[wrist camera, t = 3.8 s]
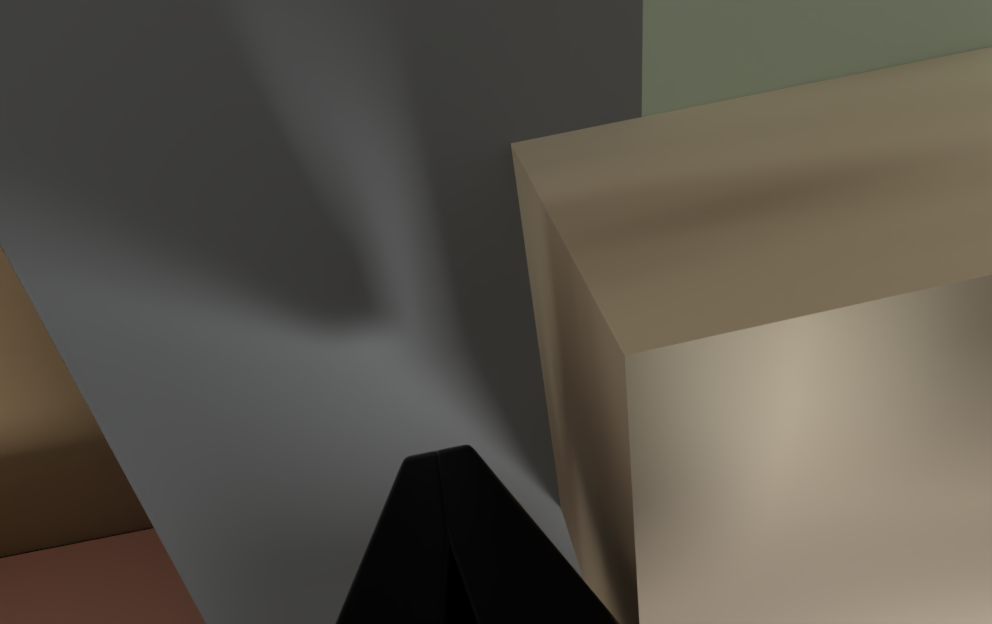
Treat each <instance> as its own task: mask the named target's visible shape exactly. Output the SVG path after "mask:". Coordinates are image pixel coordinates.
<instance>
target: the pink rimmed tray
mask: <svg viewBox="0 0 992 624" xmlns="http://www.w3.org/2000/svg"><path fill="white" fill-rule="evenodd" d="M988 47H992V0H0V245H1V247H2V249H3V251H4V253H5V254H6V256H7V258H8V260H9V262H10V264H11V265H12V267H13V269H14V271H15V273H16V275H17V277H18V278H19V280H20V282H21V284H22V286H23V288H24V289H25V291H26V293H27V295H28V297H29V299H30V300H31V302H32V304H33V306H34V308H35V310H36V311H37V313H38V315H39V317H40V319H41V321H42V323H43V324H44V326H45V328H46V330H47V332H48V334H49V335H50V337H51V339H52V341H53V343H54V345H55V346H56V348H57V350H58V352H59V354H60V356H61V358H62V359H63V361H64V363H65V365H66V367H67V369H68V370H69V372H70V374H71V376H72V378H73V380H74V381H75V383H76V385H77V387H78V389H79V391H80V392H81V394H82V396H83V398H84V400H85V402H86V404H87V405H88V407H89V409H90V411H91V413H92V415H93V416H94V418H95V420H96V422H97V424H98V426H99V427H100V429H101V431H102V433H103V435H104V437H105V439H106V440H107V442H108V444H109V446H110V448H111V450H112V451H113V453H114V455H115V457H116V459H117V461H118V462H119V464H120V466H121V468H122V470H123V472H124V473H125V475H126V477H127V479H128V481H129V483H130V485H131V486H132V488H133V490H134V492H135V494H136V496H137V497H138V499H139V501H140V503H141V505H142V507H143V508H144V510H145V512H146V514H147V516H148V518H149V519H150V521H151V523H152V525H153V527H154V528H152V529H147V530H142V531H137V532H132V533H127V534H122V535H117V536H112V537H107V538H102V539H97V540H91V541H86V542H81V543H76V544H71V545H66V546H61V547H56V548H51V549H46V550H41V551H35V552H30V553H25V554H20V555H15V556H10V557H5V558H0V624H335V623H336V621H337V618H338V616H339V613H340V611H341V609H342V606H343V604H344V601H345V599H346V596H347V594H348V592H349V589H350V587H351V584H352V582H353V579H354V577H355V575H356V572H357V570H358V567H359V565H360V563H361V560H362V558H363V555H364V553H365V550H366V548H367V546H368V543H369V541H370V538H371V536H372V534H373V531H374V529H375V526H376V524H377V521H378V519H379V517H380V514H381V512H382V509H383V507H384V504H385V502H386V500H387V497H388V495H389V492H390V490H391V488H392V485H393V483H394V480H395V478H396V475H397V473H398V471H399V468H400V466H401V464H402V462H403V460H404V459H405V458H406V457H408V456H411V455H416V454H421V453H426V452H431V451H438V450H440V449H445V448H450V447H455V446H460V445H466V444H467V445H470V446H472V447H473V448H474V449H475V450H476V451H477V453H478V454H479V455H480V456H481V458H482V459H483V460H484V461H485V462H486V464H487V465H488V466H489V467H490V468H491V470H492V471H493V472H494V473H495V474H496V476H497V477H498V478H499V479H500V480H501V482H502V483H503V484H504V485H505V486H506V488H507V489H508V490H509V491H510V492H511V494H512V495H513V496H514V497H515V498H516V500H517V501H518V502H519V503H520V504H521V506H522V507H523V508H524V509H525V510H526V512H527V513H528V514H529V515H530V516H531V518H532V519H533V520H534V521H535V522H536V524H537V525H538V526H539V527H540V528H541V530H542V531H543V532H544V533H545V534H546V536H547V537H548V538H549V539H550V540H551V542H552V543H553V544H554V545H555V546H556V548H557V549H558V550H559V551H560V552H561V554H562V555H563V556H564V557H565V558H566V560H567V561H568V562H569V563H570V564H571V566H572V567H573V568H574V569H575V571H576V572H577V573H578V574H579V575H580V577H581V578H582V579H583V576H582V573H581V570H580V567H579V564H578V561H577V557H576V554H575V551H574V548H573V545H572V542H571V538H570V535H569V532H568V529H567V526H566V523H565V519H564V516H563V513H562V510H561V505H560V497H559V490H558V483H557V476H556V468H555V461H554V454H553V447H552V439H551V432H550V425H549V417H548V410H547V403H546V396H545V388H544V381H543V374H542V367H541V359H540V352H539V345H538V338H537V330H536V323H535V316H534V309H533V301H532V294H531V287H530V280H529V272H528V265H527V258H526V250H525V243H524V236H523V229H522V221H521V214H520V207H519V200H518V192H517V185H516V178H515V171H514V163H513V156H512V149H511V143H515V142H520V141H525V140H530V139H535V138H540V137H545V136H550V135H555V134H560V133H565V132H570V131H575V130H579V129H584V128H589V127H594V126H599V125H604V124H609V123H614V122H619V121H624V120H629V119H634V118H639V117H644V116H649V115H654V114H659V113H664V112H669V111H674V110H679V109H684V108H689V107H694V106H699V105H704V104H709V103H714V102H719V101H724V100H729V99H734V98H739V97H744V96H749V95H754V94H759V93H764V92H769V91H774V90H779V89H784V88H789V87H793V86H798V85H803V84H808V83H813V82H818V81H823V80H828V79H833V78H838V77H843V76H848V75H853V74H858V73H863V72H868V71H873V70H878V69H883V68H888V67H893V66H898V65H903V64H908V63H913V62H918V61H923V60H928V59H933V58H938V57H943V56H948V55H953V54H958V53H963V52H968V51H973V50H978V49H983V48H988ZM583 580H584V579H583Z"/></svg>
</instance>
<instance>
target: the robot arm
mask: <svg viewBox="0 0 992 624" xmlns="http://www.w3.org/2000/svg"><path fill="white" fill-rule="evenodd" d="M335 624H620V623H619V622H618V621H617V620H616V619H615V617H614V616H613V615H612V614H611V613H610V611H609V610H608V609H607V608H606V607H605V605H604V604H603V603H602V602H601V601H600V599H599V598H598V597H597V596H596V595H595V593H594V592H593V591H592V590H591V589H590V587H589V586H588V585H587V584H586V583H585V581H584V580H583V579H582V578H581V577H580V575H579V574H578V573H577V572H576V571H575V569H574V568H573V567H572V566H571V564H570V563H569V562H568V561H567V560H566V558H565V557H564V556H563V555H562V554H561V552H560V551H559V550H558V549H557V548H556V546H555V545H554V544H553V543H552V542H551V540H550V539H549V538H548V537H547V536H546V534H545V533H544V532H543V531H542V530H541V528H540V527H539V526H538V525H537V524H536V522H535V521H534V520H533V519H532V518H531V516H530V515H529V514H528V513H527V512H526V510H525V509H524V508H523V507H522V506H521V504H520V503H519V502H518V501H517V500H516V498H515V497H514V496H513V495H512V494H511V492H510V491H509V490H508V489H507V488H506V486H505V485H504V484H503V483H502V482H501V480H500V479H499V478H498V477H497V476H496V474H495V473H494V472H493V471H492V470H491V468H490V467H489V466H488V465H487V464H486V462H485V461H484V460H483V459H482V458H481V456H480V455H479V454H478V453H477V451H476V450H475V449H474V448H473V447H472V446H470V445H467V444H466V445H460V446H455V447H450V448H445V449H440V450H438V451H431V452H426V453H421V454H416V455H411V456H408V457H406V458H405V459H404V460H403V462H402V464H401V466H400V468H399V471H398V473H397V475H396V478H395V480H394V483H393V485H392V488H391V490H390V492H389V495H388V497H387V500H386V502H385V504H384V507H383V509H382V512H381V514H380V517H379V519H378V521H377V524H376V526H375V529H374V531H373V534H372V536H371V538H370V541H369V543H368V546H367V548H366V550H365V553H364V555H363V558H362V560H361V563H360V565H359V567H358V570H357V572H356V575H355V577H354V579H353V582H352V584H351V587H350V589H349V592H348V594H347V596H346V599H345V601H344V604H343V606H342V609H341V611H340V613H339V616H338V618H337V621H336V623H335Z"/></svg>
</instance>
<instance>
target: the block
mask: <svg viewBox="0 0 992 624" xmlns="http://www.w3.org/2000/svg"><path fill="white" fill-rule="evenodd" d="M511 149H512V156H513V163H514V171H515V178H516V185H517V192H518V200H519V207H520V214H521V221H522V229H523V236H524V243H525V250H526V258H527V265H528V272H529V280H530V287H531V294H532V301H533V309H534V316H535V323H536V330H537V338H538V345H539V352H540V359H541V367H542V374H543V381H544V388H545V396H546V403H547V410H548V417H549V425H550V432H551V439H552V447H553V454H554V461H555V468H556V476H557V483H558V490H559V497H560V505H561V510H562V513H563V516H564V519H565V523H566V526H567V529H568V532H569V535H570V538H571V542H572V545H573V548H574V551H575V554H576V557H577V561H578V564H579V567H580V570H581V573H582V576H583V579H584V581H585V583H586V584H587V585H588V586H589V587H590V589H591V590H592V591H593V592H594V593H595V595H596V596H597V597H598V598H599V599H600V601H601V602H602V603H603V604H604V605H605V607H606V608H607V609H608V610H609V611H610V613H611V614H612V615H613V616H614V617H615V619H616V620H617V621H618V622H619V623H620V624H992V47H988V48H983V49H978V50H973V51H968V52H963V53H958V54H953V55H948V56H943V57H938V58H933V59H928V60H923V61H918V62H913V63H908V64H903V65H898V66H893V67H888V68H883V69H878V70H873V71H868V72H863V73H858V74H853V75H848V76H843V77H838V78H833V79H828V80H823V81H818V82H813V83H808V84H803V85H798V86H793V87H789V88H784V89H779V90H774V91H769V92H764V93H759V94H754V95H749V96H744V97H739V98H734V99H729V100H724V101H719V102H714V103H709V104H704V105H699V106H694V107H689V108H684V109H679V110H674V111H669V112H664V113H659V114H654V115H649V116H644V117H639V118H634V119H629V120H624V121H619V122H614V123H609V124H604V125H599V126H594V127H589V128H584V129H579V130H575V131H570V132H565V133H560V134H555V135H550V136H545V137H540V138H535V139H530V140H525V141H520V142H515V143H511Z"/></svg>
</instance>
